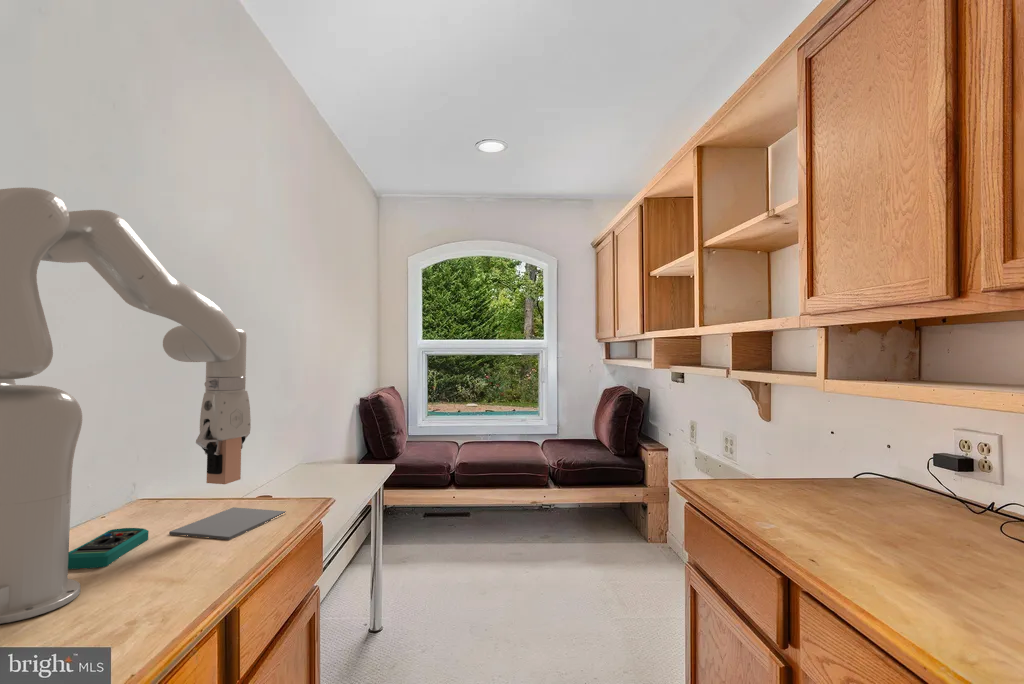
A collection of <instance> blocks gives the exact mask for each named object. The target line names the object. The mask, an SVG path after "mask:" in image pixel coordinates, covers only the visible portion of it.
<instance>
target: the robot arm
mask: <svg viewBox="0 0 1024 684" xmlns="http://www.w3.org/2000/svg"><path fill="white" fill-rule="evenodd" d="M41 261H42V262H43V261H44V262H45V261H46V262H53V263H64V264H65V263H66V264H70V263H88V264H89V265H90V266H91V268H93V269H94V271H96V272H97V273H98V274H99V276H100V277H101V278H102V279H104V281H105V282H106V283H107V284H108V285H109V286H110V287H111V288H112V289H113V291H115V292H116V294H118V295H119V297H120V298H121V299H122V300H123V301H124V302H125V303H126V304H128V305H129V306H132V307H133V308H136V309H138V310H141V311H142V312H146V313H150V314H153V315H156V316H159V317H162V318H166V319H168V320H171V321H173V322H176V323H178V326H175V327H172V328H171V329H169V330H168V331H167V332H166V333H165V335H164V336H163V338H162V348H163V351H164V352H165V353H166V355H167V356H168V357H170V358H171V359H173V360H176V361H178V362H181V363H182V362H185V363H205V382H204V388H205V389H204V390H205V392H203V393H204V394H203V397H202V400H201V401H202V403H201V408H200V415H199V416H200V418H199V434H198V436H197V437H196V440H195V444H196V445H197V446H198V447H200V448H201V449H202V450H203V451H204V454H205V455H206V474H207V473H208V474H221V473H222V455H221V454H220V452H221V446H222V441H223V440H229V439H234V438H238V437H242V438H241V450H242V449H243V448H244V442H245V441H246V439H247V437H248V436H249V435H250V434H251V428H252V427H251V422H252V419H251V418H252V417H251V407H250V406H251V405H250V399H249V398H250V397H249V393H248V391H247V390H246V380H247V379H246V378H247V377H246V373H247V371H246V369H247V333H246V330H243V329H242V328H239V327H235V326H234V324H233V323H232V321H231V320H230V319H229V317H228V316H227V315H226V313H224V311H223V310H222V309H221V308H220V307H219V306H218V305H217V304H216V303H215V302H213V301H212V300H210V299H209V298H208V297H206V296H205V295H203V294H201V293H200V292H198V291H197V290H195V289H194V288H192V287H191V286H188V285H187V284H185V283H184V282H182V281H180V280H178V279H176V278H175V277H174V276H172V275H171V274H170V273H169V272H168V270H167V269H166V267H164V265H163V264H162V263H161V262H160V261H159V260H158V258H157V257H156V256H155V255H154V253H153V252H152V251H151V250H150V249H149V248H148V246H147V244H145V242H144V241H143V240H142V239H141V237H140V236H139V235H138V234H137V233H136V231H134V229H133V228H132V227H131V225H130V224H129V223H128V222H127V221H126V220H125V219H124V218H123V217H122V216H121V215H119V214H117V213H115V212H112V211H110V210H105V209H85V210H83V209H82V210H71V211H69V210H68V207H67V205H66V204H65V201H63V199H62V198H61V197H59V196H58V195H56V194H55V193H53V192H50V191H49V190H46V189H43V188H36V187H10V188H9V187H8V188H1V189H0V625H1V624H7V623H13V622H17V621H22V620H26V619H30V618H31V619H32V618H33V617H37V616H39V615H44V614H46V613H49V612H51V611H54V610H57V609H58V608H61V607H64V606H65V605H67V604H69V603H71V602H72V601H73V600H75V599H76V598H77V597H78V596H79V595H80V593H81V583H80V582H79V581H78V580H75V579H71V578H68V577H69V576H68V574H69V569H68V556H69V552H70V550H69V549H70V546H69V545H70V530H71V529H70V527H71V526H70V525H71V509H72V508H71V503H72V502H71V501H72V478H73V465H74V457H75V452H76V447H77V444H78V441H79V438H80V433H81V430H82V424H83V412H82V407H81V406H80V404H79V402H78V401H77V400H76V399H75V397H74V396H72V394H70V393H68V392H67V391H65V390H62V389H59V388H57V387H53V386H46V385H32V384H31V385H29V384H27V385H26V384H16V381H15V380H19V379H20V380H21V379H25V378H31V377H34V376H37V375H39V374H41V373H42V372H43V371H45V370H46V369H47V368H48V367H49V366H50V364H51V363H52V361H53V356H54V352H53V351H54V350H53V349H54V347H53V343H52V338H51V335H50V331H49V326H48V323H47V319H46V315H45V312H44V307H43V304H42V300H41V296H40V292H39V291H40V290H39V286H38V278H37V276H38V268H39V266H40V263H41ZM179 324H180V325H179ZM213 438H216V439H213ZM213 442H216V445H215V446H214V445H213Z"/></svg>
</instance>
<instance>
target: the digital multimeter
mask: <svg viewBox="0 0 1024 684" xmlns="http://www.w3.org/2000/svg"><path fill="white" fill-rule="evenodd" d="M147 541H149V530H147V529H146V528H141V527H140V528H139V527H123V528H121V527H120V528H114V529H109V530H107V531H106V532H104V533H102V534H100V535H98V536H96V537H95V538H93V539H91V540H89V541H87V542H86V543H84V544H82V545H80V546H78V547H76V548H74V549H72V550H69V556H68V570H81V569H80V568H87V569H96V568H97V569H99V567H100V568H107V567H108V566H110V565H111V564H112V562H113V563H114V562H116V561H117V560H118V559H120V558H121V557H122V556H124V555H126V554H127V553H128V552H130V551H132V550H133V549H136V548H137V547H138V546H140V545H142V544H144V543H145V542H147ZM119 557H120V558H119ZM109 564H110V565H109Z"/></svg>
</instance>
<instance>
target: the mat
mask: <svg viewBox="0 0 1024 684" xmlns="http://www.w3.org/2000/svg"><path fill="white" fill-rule="evenodd" d="M285 512H286V513H287V511H286V510H285V511H284V510H274V509H260V508H248V507H235V506H234V507H230V508H228V509H226V510H223V511H220V512H218V513H214V514H213V515H209V516H207V517H204V518H202V519H199V520H197V521H194V522H191V523H188V524H186V525H184V526H183V525H182V526H181V527H178V528H176V529H175V528H174V529H171V530H170V531H169V534H172V535H171V536H179V535H186V536H185V537H190V536H197V537H196V538H201V537H209V538H208V539H213V538H217V539H216V540H224V539H225V541H230V540H232V538H233V539H234V537H235V538H237V537H239V536H241V535H243V534H245V532H246V531H248V532H249V530H250V531H252V530H254V529H256V528H258V527H257V526H259V525H261V524H263V523H265V522H267V521H269V520H271V519H273V518H275V517H277V516H279V515H281V514H283V513H285ZM267 523H268V522H267ZM265 524H266V523H265ZM263 525H264V524H263ZM261 526H262V525H261ZM255 527H256V528H255ZM259 527H260V526H259ZM253 528H254V529H253ZM251 529H252V530H251ZM246 533H247V532H246ZM187 535H188V536H187Z"/></svg>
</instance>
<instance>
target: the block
mask: <svg viewBox="0 0 1024 684" xmlns="http://www.w3.org/2000/svg"><path fill="white" fill-rule="evenodd" d="M241 438H242V437H238V438H234V439H229V440H223V441H222V446H221V452H220V454H221V455H222V473H221V474H208V473H207V472H206V484H212V485H213V484H215V485H228V484H231V483H233V482H237V481H240V480H241V472H242V449H241ZM213 439H216V438H213ZM213 445H214V446H215V445H216V442H213Z"/></svg>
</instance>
